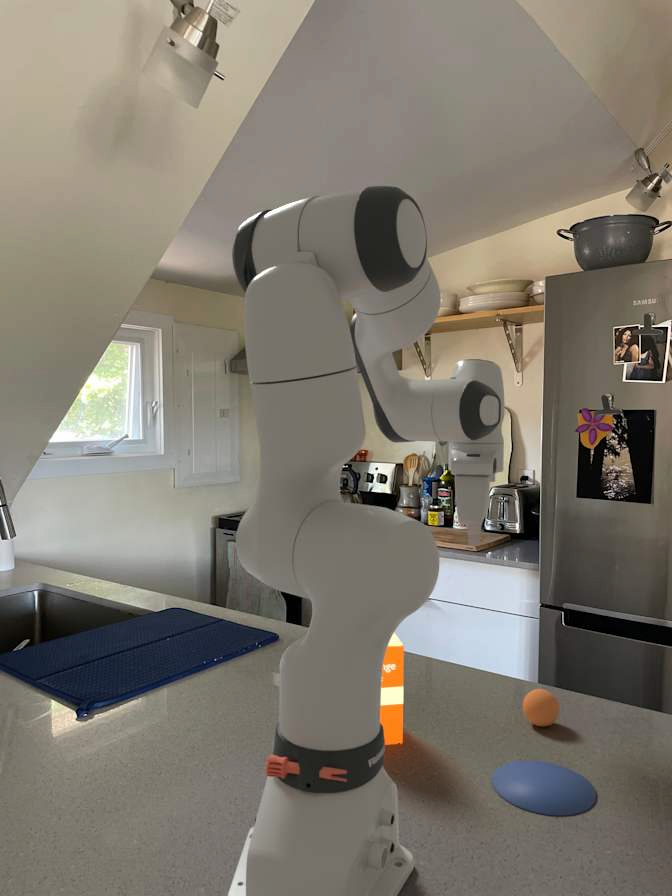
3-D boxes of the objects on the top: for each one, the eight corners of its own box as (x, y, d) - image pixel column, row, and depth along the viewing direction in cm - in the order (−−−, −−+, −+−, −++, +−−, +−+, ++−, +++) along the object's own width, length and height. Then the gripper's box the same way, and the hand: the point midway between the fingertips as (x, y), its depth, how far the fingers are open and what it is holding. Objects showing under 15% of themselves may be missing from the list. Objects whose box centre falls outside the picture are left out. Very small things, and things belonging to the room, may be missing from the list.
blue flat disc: (600, 823, 83) (600, 821, 83) (489, 805, 86) (489, 804, 86) (591, 769, 95) (591, 768, 95) (494, 756, 99) (494, 755, 99)
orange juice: (352, 748, 101) (353, 612, 100) (339, 721, 110) (340, 596, 109) (404, 743, 103) (405, 609, 102) (387, 717, 111) (388, 594, 110)
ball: (559, 734, 106) (560, 699, 106) (522, 730, 107) (523, 695, 107) (558, 719, 111) (559, 685, 111) (522, 715, 113) (523, 681, 112)
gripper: (462, 456, 125) (460, 533, 125) (449, 464, 105) (448, 554, 106) (498, 457, 123) (496, 535, 124) (492, 465, 103) (490, 557, 104)
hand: (474, 544), depth 115 cm, fingers closed
